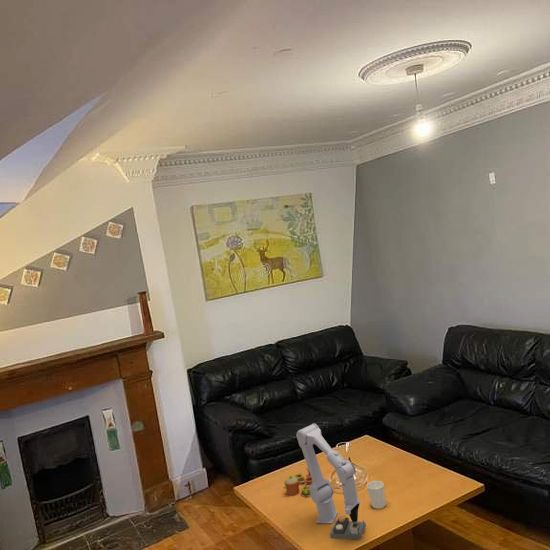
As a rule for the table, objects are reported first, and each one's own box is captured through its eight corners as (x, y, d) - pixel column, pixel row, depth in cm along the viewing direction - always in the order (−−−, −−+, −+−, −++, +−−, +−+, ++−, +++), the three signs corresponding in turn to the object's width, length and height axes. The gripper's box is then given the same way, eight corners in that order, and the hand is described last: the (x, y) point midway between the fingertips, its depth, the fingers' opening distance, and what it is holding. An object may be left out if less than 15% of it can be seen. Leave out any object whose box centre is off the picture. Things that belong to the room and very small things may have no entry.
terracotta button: (340, 520, 237) (339, 515, 237) (346, 520, 236) (345, 516, 236) (338, 523, 234) (337, 519, 234) (344, 524, 233) (344, 519, 233)
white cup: (367, 504, 251) (363, 484, 250) (380, 498, 254) (377, 479, 254) (376, 511, 244) (373, 490, 243) (390, 505, 247) (387, 484, 246)
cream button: (337, 528, 232) (336, 524, 232) (344, 528, 231) (343, 524, 231) (335, 532, 230) (334, 528, 229) (342, 532, 228) (341, 528, 228)
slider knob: (352, 529, 229) (351, 523, 229) (359, 529, 228) (358, 523, 228) (351, 533, 226) (349, 527, 226) (357, 533, 225) (356, 527, 225)
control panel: (336, 524, 239) (335, 516, 239) (366, 526, 234) (364, 517, 234) (330, 538, 230) (329, 529, 230) (361, 539, 225) (359, 531, 224)
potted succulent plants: (313, 498, 267) (309, 480, 267) (284, 499, 272) (280, 481, 271) (322, 473, 292) (319, 457, 291) (296, 475, 297) (292, 458, 296)
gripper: (354, 500, 220) (360, 531, 221) (362, 482, 233) (367, 512, 234) (338, 499, 223) (343, 530, 224) (346, 482, 236) (351, 511, 237)
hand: (354, 521), depth 229 cm, fingers closed
